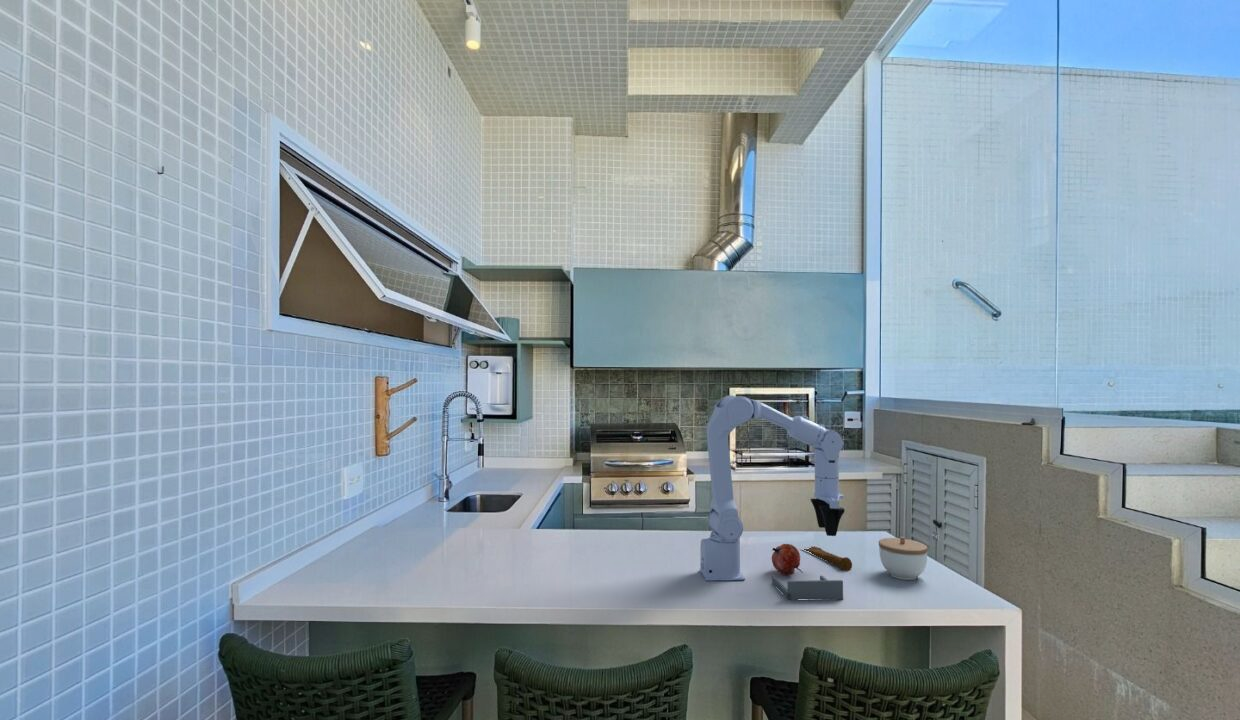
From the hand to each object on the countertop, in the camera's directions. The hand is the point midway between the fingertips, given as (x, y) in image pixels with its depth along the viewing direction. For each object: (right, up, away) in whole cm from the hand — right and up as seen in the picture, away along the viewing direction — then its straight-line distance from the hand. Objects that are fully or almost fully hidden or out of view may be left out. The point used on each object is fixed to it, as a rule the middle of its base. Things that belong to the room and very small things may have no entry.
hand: (827, 531), depth 138 cm
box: (-10, -9, -13) cm, 19 cm away
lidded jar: (+18, -10, -3) cm, 21 cm away
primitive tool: (+3, -11, +10) cm, 15 cm away
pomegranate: (-10, -10, -1) cm, 15 cm away
